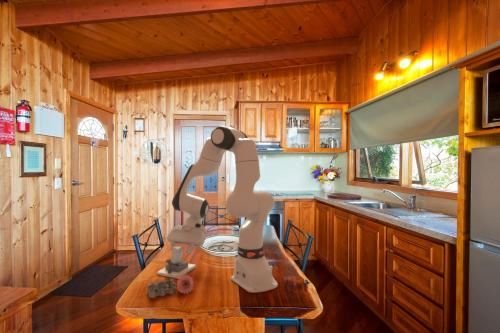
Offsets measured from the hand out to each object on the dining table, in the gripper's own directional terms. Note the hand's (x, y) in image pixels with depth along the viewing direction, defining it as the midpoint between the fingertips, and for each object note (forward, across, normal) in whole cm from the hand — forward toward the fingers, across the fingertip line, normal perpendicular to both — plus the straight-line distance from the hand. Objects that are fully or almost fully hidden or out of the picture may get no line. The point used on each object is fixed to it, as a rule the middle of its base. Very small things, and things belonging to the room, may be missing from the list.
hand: (179, 251), depth 129 cm
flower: (+19, +16, -6) cm, 25 cm away
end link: (+7, 0, +4) cm, 8 cm away
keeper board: (+8, 0, +5) cm, 9 cm away
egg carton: (+22, +7, -9) cm, 25 cm away
